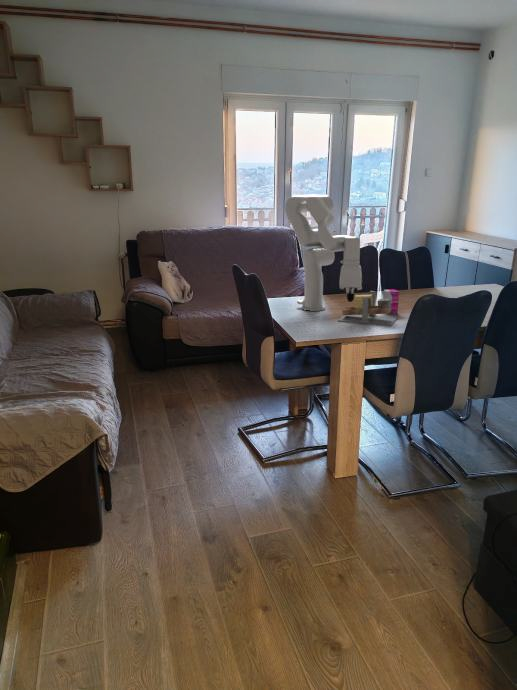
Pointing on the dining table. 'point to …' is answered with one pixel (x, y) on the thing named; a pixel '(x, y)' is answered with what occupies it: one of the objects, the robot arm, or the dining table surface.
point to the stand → (368, 315)
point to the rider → (359, 301)
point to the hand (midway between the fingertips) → (350, 301)
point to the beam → (382, 308)
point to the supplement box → (392, 299)
